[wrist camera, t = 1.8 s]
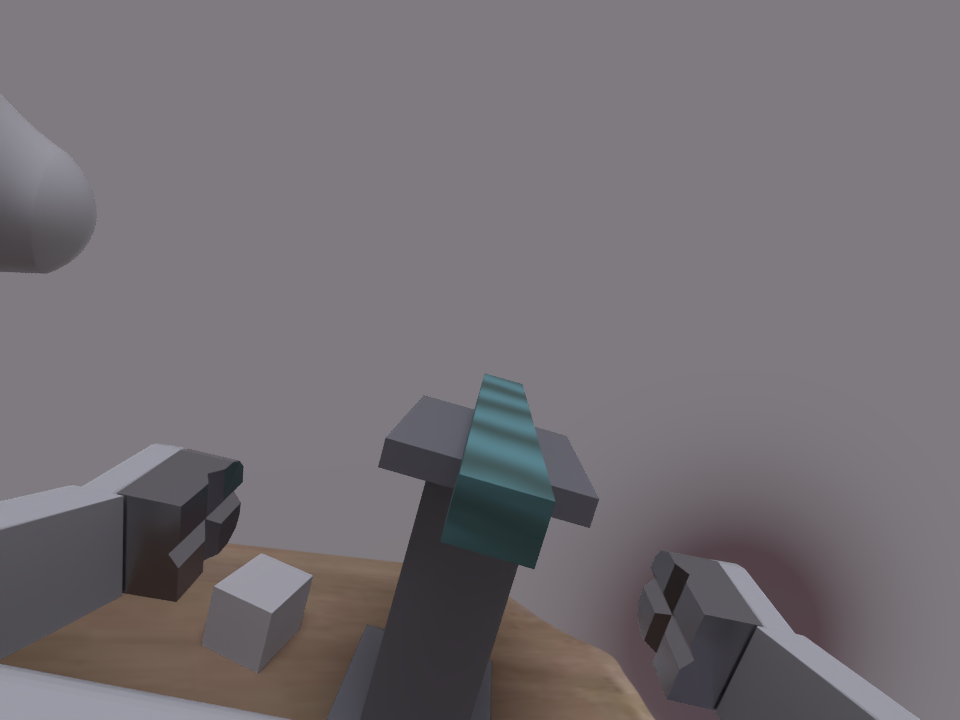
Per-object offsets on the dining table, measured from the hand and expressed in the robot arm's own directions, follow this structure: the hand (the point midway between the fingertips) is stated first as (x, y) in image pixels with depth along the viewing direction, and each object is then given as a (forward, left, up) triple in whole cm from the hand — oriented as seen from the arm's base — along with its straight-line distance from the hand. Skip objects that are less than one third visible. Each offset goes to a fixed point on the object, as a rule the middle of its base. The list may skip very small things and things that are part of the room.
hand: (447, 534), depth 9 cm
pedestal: (-17, +20, -31) cm, 41 cm away
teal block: (-15, +18, -5) cm, 24 cm away
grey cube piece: (-31, +11, -32) cm, 46 cm away
